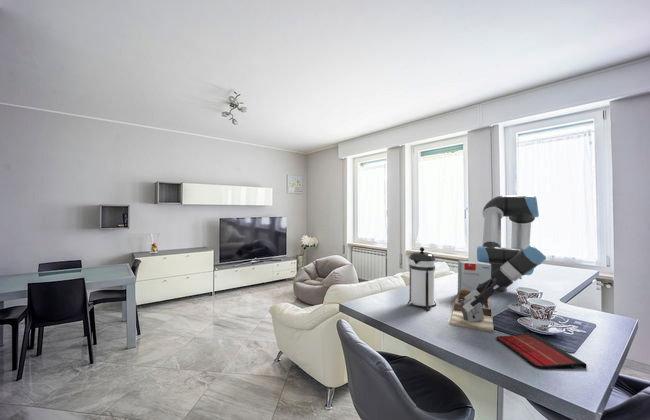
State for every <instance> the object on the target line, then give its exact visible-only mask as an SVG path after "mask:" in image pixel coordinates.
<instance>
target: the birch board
mask: <svg viewBox="0 0 650 420" xmlns="http://www.w3.org/2000/svg"><path fill="white" fill-rule="evenodd" d="M493 320H494V319H493V316H492V315H491V316H485V315H484V319H483V320H479V321H475V322H469V321H468V320H464V317H463V313H462V312H461V311H455V310H452V314H451V318H450V321H449V323H450V324H449V325H453V326H457V327H458V326H459V327H463V328H467V329H473V330H477V331H484V332H488V333H492V334H493V333H495V329H494V321H493Z"/></svg>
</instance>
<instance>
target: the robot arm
mask: <svg viewBox="0 0 650 420" xmlns="http://www.w3.org/2000/svg"><path fill="white" fill-rule="evenodd" d="M539 216H540V215H539V206H538V200H537V197H536V196H535V195H533V194H517V195H511V194H510V195H509V194H507V195H498V196H495V197H493V198H491V199H490V200H489V201H488V202H487V203H486V204H485V205H484V207H483V209H482V218H483V220H484V222H483V233H482V235H483V236H482V245H478V246H477V247H476V260H477V262H483V263H489V264H491V279H489V280H487V281H486V282H484V283H482V284H481V285H479V286H478V287H477V288H476V289H477V290H476V289H475V290H474V291H472V292H471V293H470V294H468V295H467V296H466V297H464V298H465V299H471V298H473V299H472V300H471V301H469V302H468V303H466V304H465V305H464V306H463V308H464V309H465V310H466V311H467V312H469V311H470V310H471V309H473V308H474V307H476V306H477V305H478V304H480V303H481V304H485V303H484V302H485V301H486V300H487V299H488V298H489V297H490V298H491V296H493V295H494V294H495V292H506V291H507V290H508V288H509V287H510V286H511V285H513V283H514V282H516V281H517V280H522V279H523V278H522V277H523V276H531V275H532V274H533V273H534V271H535V268H536V267H538V266H540V265H542V263H543V262H545V261H546V260H547V257H546V255H545V254H543V253H542V252H541V250H539V249H538V248H537V247H535V246H534V245H532V244H530V243H531V242H530V241H531V228H532V223H533V222H534V221H535V220H536V218H538V217H539ZM507 217H508V219H509V221H511V241H510V242H511V243H510V247H501V246H502V219H503V218H507ZM479 292H480V293H479Z"/></svg>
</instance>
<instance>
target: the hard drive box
mask: <svg viewBox="0 0 650 420" xmlns="http://www.w3.org/2000/svg"><path fill="white" fill-rule="evenodd" d="M457 261H458V262H457V265H458V267H457V293H458V292H459V293H466V294H470V293H471V292H472V291H474V290H475V289H476V288H477V287H478V286H479V285H481V284H482V283H484V282H486V281H487V280H489V279H491V264H489V263H483V262H479V261H476V260H460V259H459V260H457ZM476 290H477V289H476ZM479 293H480V292H479Z"/></svg>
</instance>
